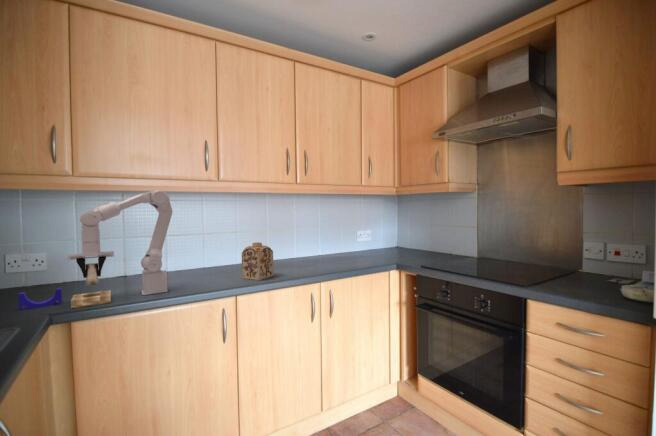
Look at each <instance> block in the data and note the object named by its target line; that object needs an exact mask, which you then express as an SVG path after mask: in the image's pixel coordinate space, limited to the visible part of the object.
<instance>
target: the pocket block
mask: <svg viewBox="0 0 656 436" xmlns="http://www.w3.org/2000/svg"><path fill="white" fill-rule="evenodd" d="M111 293H112V291H111V289H110V290H109V289H108V290H100V291H95V292H85V293H79V294H73V295H72V298H71V300H70V307H71V308H70V309H71V310H73V309H72V308H74V309H80V308H81V309H82V308H89V307H94V306H101V305H106V304H107V305H108V304H111V303H112V296H111V295H112V294H111Z"/></svg>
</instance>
